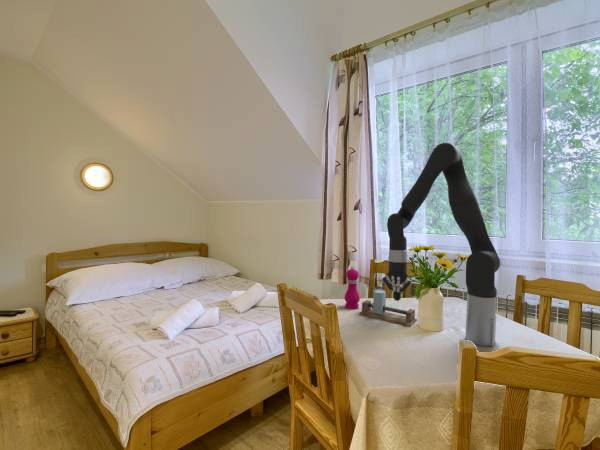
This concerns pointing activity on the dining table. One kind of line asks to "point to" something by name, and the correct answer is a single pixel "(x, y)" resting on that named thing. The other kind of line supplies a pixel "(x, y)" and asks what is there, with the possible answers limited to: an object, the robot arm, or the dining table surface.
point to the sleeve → (379, 302)
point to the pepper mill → (352, 289)
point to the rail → (389, 314)
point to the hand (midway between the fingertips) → (397, 300)
